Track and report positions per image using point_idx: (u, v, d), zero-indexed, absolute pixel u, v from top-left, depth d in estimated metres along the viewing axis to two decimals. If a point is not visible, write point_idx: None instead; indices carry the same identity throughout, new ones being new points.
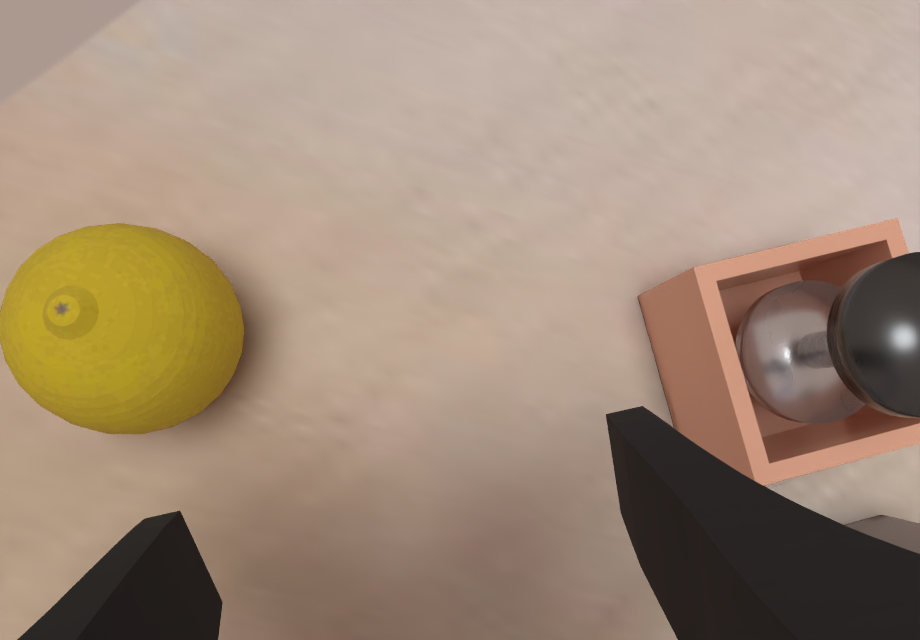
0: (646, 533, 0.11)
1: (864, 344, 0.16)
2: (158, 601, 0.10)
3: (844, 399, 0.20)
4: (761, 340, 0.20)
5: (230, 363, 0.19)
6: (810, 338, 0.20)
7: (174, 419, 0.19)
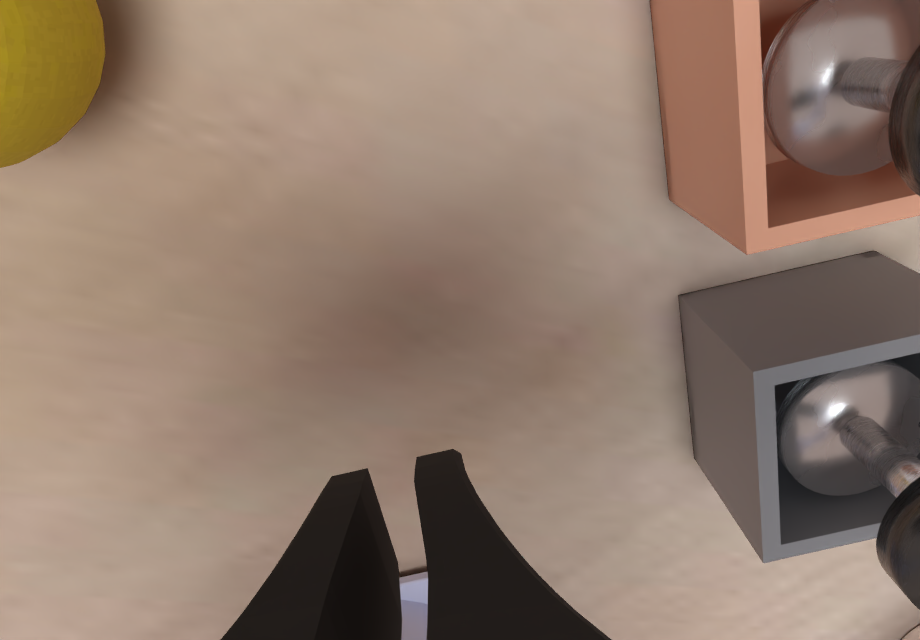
0: None
1: None
2: (367, 554, 0.10)
3: (880, 146, 0.16)
4: (798, 66, 0.15)
5: (84, 79, 0.14)
6: (863, 68, 0.15)
7: (22, 157, 0.15)
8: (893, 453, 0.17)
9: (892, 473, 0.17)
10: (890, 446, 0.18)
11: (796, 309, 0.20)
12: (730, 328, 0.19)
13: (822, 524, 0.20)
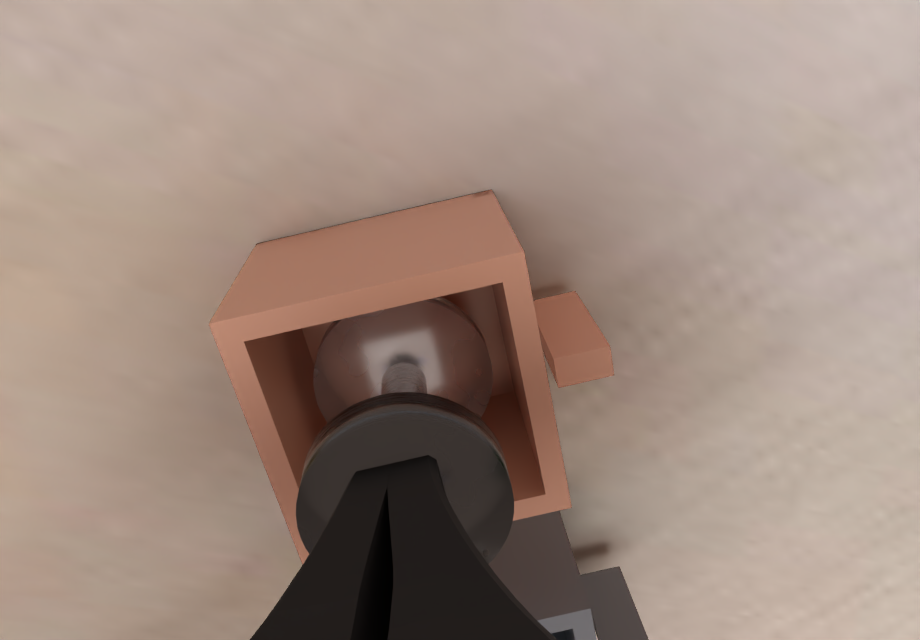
0: None
1: (314, 528, 0.12)
2: None
3: None
4: (335, 372, 0.16)
5: None
6: (385, 382, 0.16)
7: None
8: None
9: None
10: None
11: None
12: None
13: None
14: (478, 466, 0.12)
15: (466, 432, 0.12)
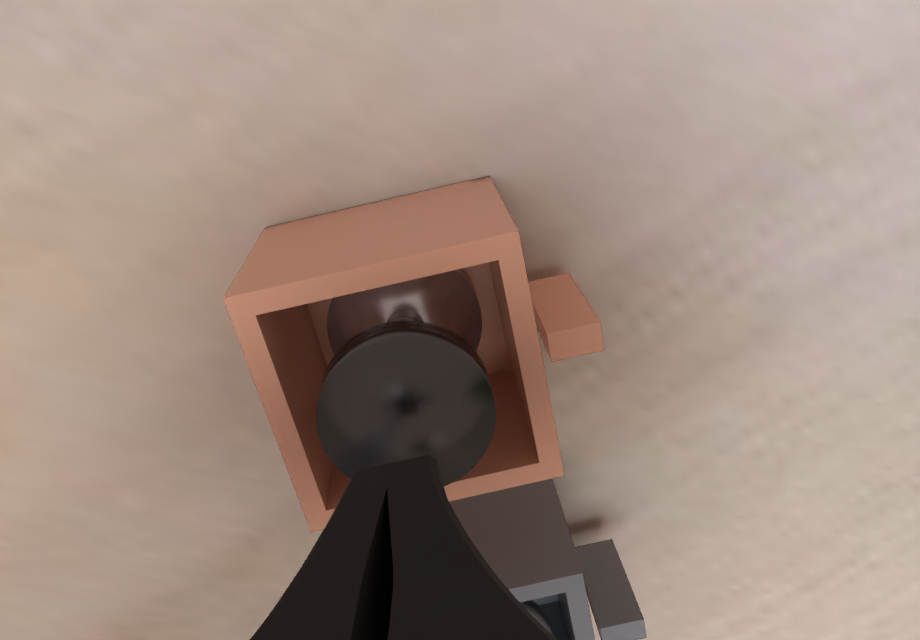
0: None
1: (331, 431, 0.15)
2: None
3: None
4: (345, 317, 0.18)
5: None
6: None
7: None
8: None
9: None
10: None
11: None
12: None
13: None
14: (466, 380, 0.14)
15: (456, 350, 0.14)
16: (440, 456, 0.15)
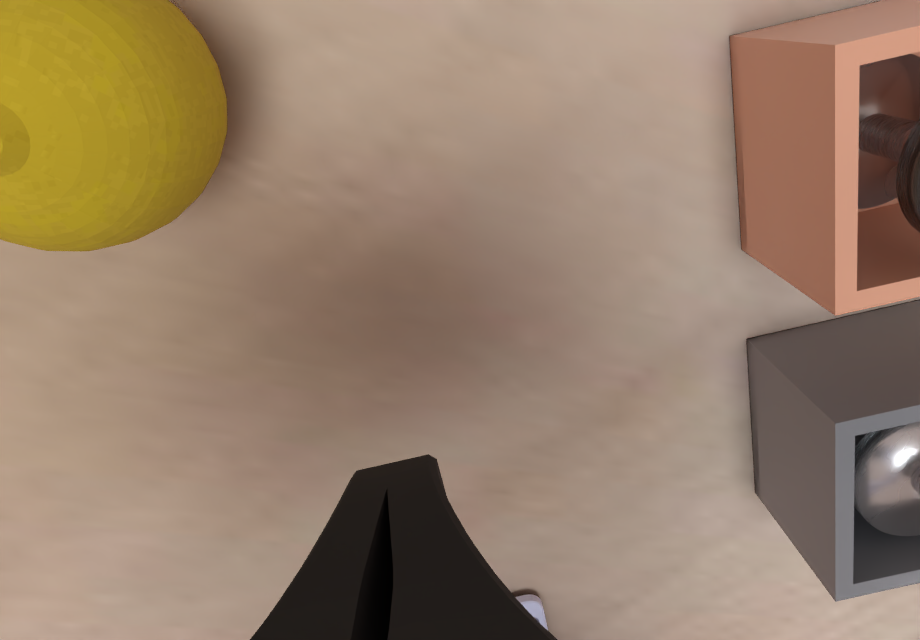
0: None
1: None
2: None
3: (887, 184, 0.19)
4: None
5: (216, 155, 0.15)
6: (874, 124, 0.18)
7: None
8: None
9: None
10: None
11: (867, 357, 0.20)
12: (805, 376, 0.20)
13: (891, 563, 0.21)
14: None
15: None
16: None
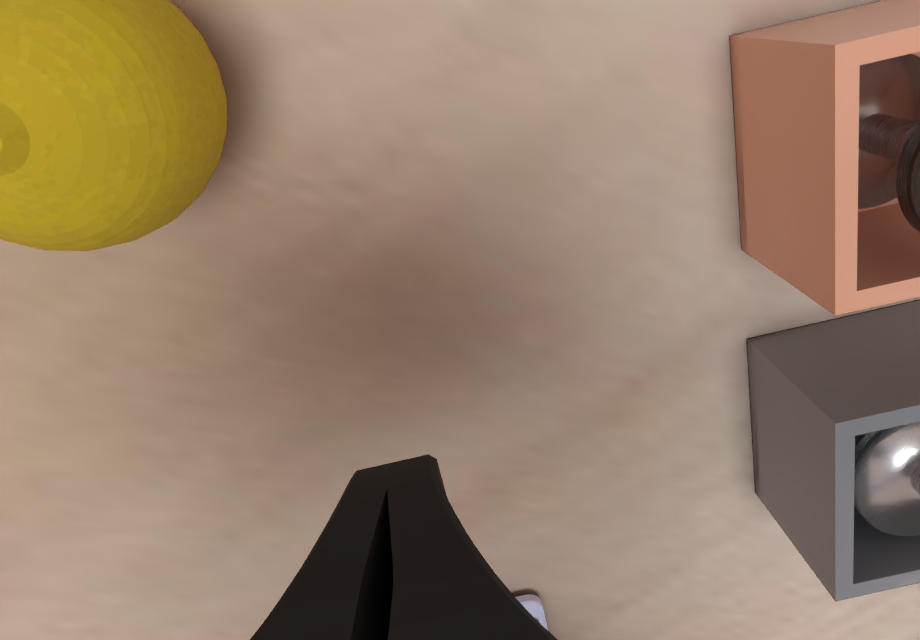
0: None
1: None
2: None
3: (887, 184, 0.19)
4: None
5: (216, 155, 0.15)
6: (874, 124, 0.18)
7: (157, 228, 0.15)
8: None
9: None
10: None
11: (867, 357, 0.20)
12: (805, 376, 0.20)
13: (891, 563, 0.21)
14: None
15: None
16: None
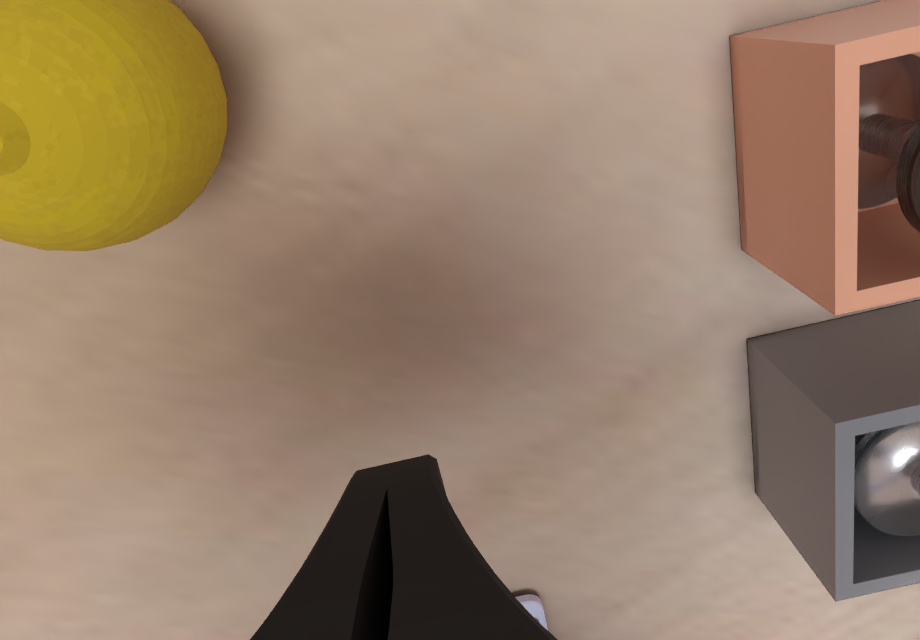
0: None
1: None
2: None
3: (887, 184, 0.19)
4: None
5: (216, 155, 0.15)
6: (874, 124, 0.18)
7: (157, 228, 0.15)
8: None
9: None
10: None
11: (867, 357, 0.20)
12: (805, 376, 0.20)
13: (891, 563, 0.21)
14: None
15: None
16: None
